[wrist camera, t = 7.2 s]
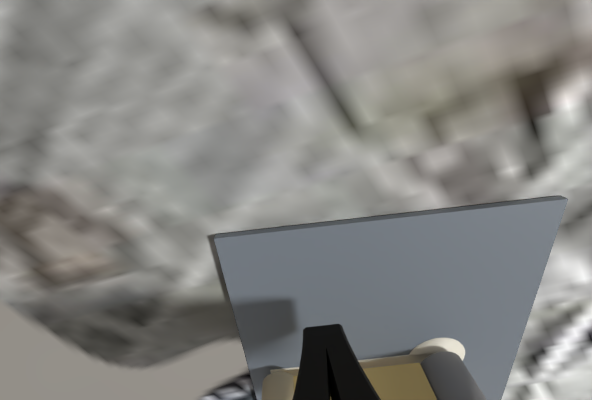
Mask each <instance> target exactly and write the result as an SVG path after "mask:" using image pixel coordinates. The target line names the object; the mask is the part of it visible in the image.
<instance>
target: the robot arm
mask: <svg viewBox="0 0 592 400" xmlns="http://www.w3.org/2000/svg"><path fill="white" fill-rule="evenodd" d="M330 396H331V400H381V399H380V397H379V396H378V394H377V393H376V391H375V389H374V388H373V386H372V384H371V383H370V381H369V379H368V377H367V376H366V374H365V372H364V371H363V369H362V367H361V365H360V363H359V362H358V360H357V358H356V356H355V354H354V352H353V350H352V348H351V346H350V344H349V342H348V339H347V337H346V335H345V332H344V330H343V327H342V325H340V324H331V325H322V326H313V327H306V328H305V329H303V344H302V353H301V360H300V366H299V372H298V376H297V381H296V386H295V391H294V395H293V399H292V400H330Z"/></svg>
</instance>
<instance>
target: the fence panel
mask: <svg viewBox="0 0 592 400" xmlns="http://www.w3.org/2000/svg"><path fill="white" fill-rule="evenodd" d="M363 371H364V372H365V374H366V376H367V377H368V379H369V381H370V383H371V384H372V386H373V388H374V389H375V391H376V393H377V394H378V396H379V397H380V399H381V400H487V399H486V398H485V396H484V395H483V393H482V391H481V390H480V388H479V387H478V385H477V383H476V382H475V380H474V379H473V377H472V375H471V374H470V372H469V371H468V369H467V367H466V366H465V364H464V363H463V361H462V360H461V358H460V356H459V355H457V354H456V353H453V352H449V351H442V352H437V353H434V354H432V355H430V356H428V357H426V358H425V359H424V360H423V361H422V362H421V364H420V363H411V364H401V365H392V366H383V367H373V368H364V369H363ZM296 381H297V376H293V375H291V374H289V373H285V372H275V373H271V374H269V375H267V376H266V377H265V378H264V380H263V385H262V400H292V399H293V395H294V391H295V386H296ZM330 400H331V396H330Z"/></svg>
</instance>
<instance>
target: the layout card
mask: <svg viewBox="0 0 592 400" xmlns="http://www.w3.org/2000/svg"><path fill="white" fill-rule="evenodd" d="M567 201H568V199H567V198H565V197H563V196H553V197H544V198H535V199H526V200H517V201H509V202H500V203H491V204H482V205H473V206H464V207H455V208H446V209H437V210H428V211H420V212H411V213H402V214H393V215H384V216H375V217H366V218H357V219H348V220H339V221H331V222H322V223H313V224H304V225H295V226H286V227H277V228H268V229H259V230H250V231H242V232H233V233H224V234H216V235H215V237H214V242H215V245H216V249H217V253H218V256H219V260H220V264H221V268H222V271H223V275H224V279H225V282H226V286H227V290H228V294H229V297H230V301H231V305H232V309H233V312H234V316H235V320H236V323H237V327H238V331H239V335H240V338H241V342H242V346H243V349H244V353H245V357H246V361H247V364H248V368H249V372H250V376H251V379H252V383H253V387H254V390H255V394H256V398H257V400H262V385H263V380H264V378H265V377H266V376H267V375H269V374H271V373H275V372H285V373H289V374H291V375H293V376H298V372H299V366H300V360H301V353H302V344H303V329H305V328H306V327H313V326H322V325H331V324H340V325H342V327H343V330H344V332H345V335H346V337H347V339H348V342H349V344H350V346H351V348H352V350H353V352H354V354H355V356H356V358H357V360H358V362H359V363H360V365H361V367H362V369H364V368H373V367H383V366H392V365H401V364H411V363H420V364H421V362H422V361H423V360H424V359H425V358H426V357H428V356H430V355H432V354H434V353H437V352H442V351H449V352H453V353H456V354H457V355H459V356H460V358H461V360H462V361H463V363H464V364H465V366H466V367H467V369H468V371H469V372H470V374H471V375H472V377H473V379H474V380H475V382H476V383H477V385H478V387H479V388H480V390H481V391H482V393H483V395H484V396H485V398H486V399H487V400H501V399H502V396H503V393H504V390H505V387H506V384H507V381H508V378H509V375H510V372H511V369H512V366H513V363H514V360H515V357H516V354H517V351H518V348H519V345H520V342H521V339H522V336H523V333H524V330H525V327H526V324H527V321H528V318H529V315H530V312H531V309H532V306H533V303H534V300H535V297H536V294H537V291H538V288H539V285H540V282H541V279H542V276H543V273H544V270H545V267H546V264H547V261H548V258H549V255H550V252H551V249H552V246H553V243H554V240H555V237H556V234H557V231H558V228H559V225H560V222H561V219H562V216H563V213H564V210H565V207H566V204H567Z"/></svg>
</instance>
